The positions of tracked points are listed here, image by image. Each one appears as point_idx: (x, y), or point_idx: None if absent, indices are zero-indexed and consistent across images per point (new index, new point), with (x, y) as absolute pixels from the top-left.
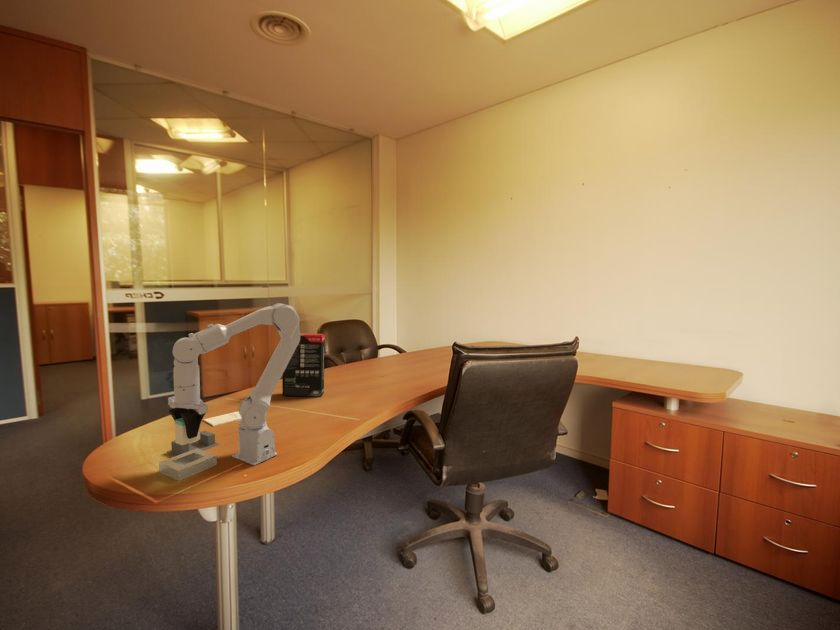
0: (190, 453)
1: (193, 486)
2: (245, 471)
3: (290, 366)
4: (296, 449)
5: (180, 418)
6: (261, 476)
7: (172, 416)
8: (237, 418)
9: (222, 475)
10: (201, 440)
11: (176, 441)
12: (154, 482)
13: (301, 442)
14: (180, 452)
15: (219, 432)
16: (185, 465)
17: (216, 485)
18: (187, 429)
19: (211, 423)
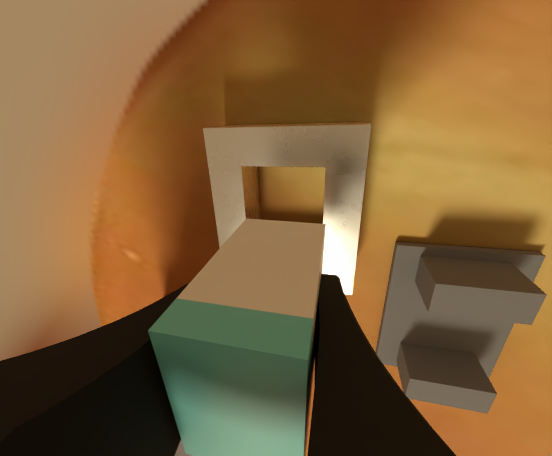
0: (327, 253)
1: (165, 139)
2: (151, 269)
3: None
4: None
5: (297, 403)
6: (101, 266)
7: (410, 420)
8: None
9: (172, 227)
10: (455, 361)
11: (313, 227)
12: (305, 67)
13: None
14: (435, 263)
15: (483, 427)
16: (230, 174)
17: (126, 181)
18: (176, 295)
19: None
